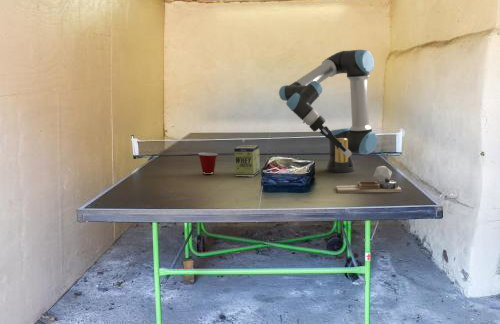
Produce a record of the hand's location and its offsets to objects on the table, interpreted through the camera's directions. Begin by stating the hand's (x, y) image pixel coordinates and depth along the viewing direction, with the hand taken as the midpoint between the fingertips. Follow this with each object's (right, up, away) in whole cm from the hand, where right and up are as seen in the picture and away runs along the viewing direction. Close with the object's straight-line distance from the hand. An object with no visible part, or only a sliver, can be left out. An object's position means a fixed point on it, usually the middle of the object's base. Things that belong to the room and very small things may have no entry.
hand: (349, 154), depth 253 cm
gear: (+16, -15, -7) cm, 23 cm away
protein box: (-48, -11, +42) cm, 65 cm away
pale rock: (+18, -14, +10) cm, 25 cm away
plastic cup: (-70, -11, +47) cm, 85 cm away
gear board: (+7, -16, -7) cm, 19 cm away
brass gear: (-4, -3, +1) cm, 5 cm away
